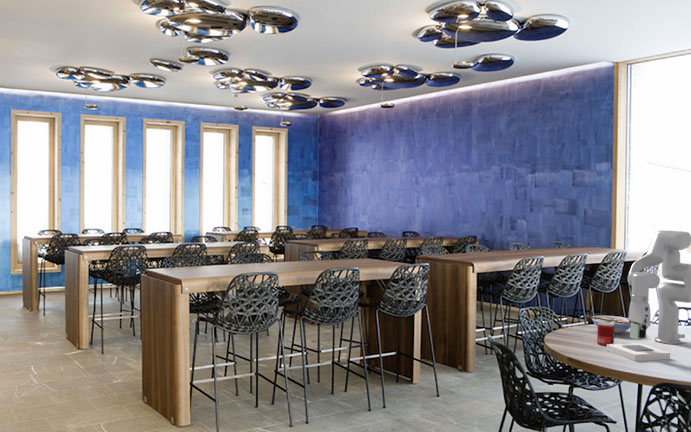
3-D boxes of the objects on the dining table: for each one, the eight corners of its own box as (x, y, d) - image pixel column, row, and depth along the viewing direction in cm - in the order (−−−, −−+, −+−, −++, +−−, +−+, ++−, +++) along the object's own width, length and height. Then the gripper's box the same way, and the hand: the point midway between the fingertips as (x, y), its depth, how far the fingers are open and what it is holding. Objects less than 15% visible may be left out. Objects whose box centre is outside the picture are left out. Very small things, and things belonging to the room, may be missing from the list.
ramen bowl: (642, 333, 356) (643, 319, 356) (625, 339, 341) (626, 324, 340) (599, 325, 374) (600, 312, 374) (581, 331, 359) (582, 316, 358)
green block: (638, 337, 310) (639, 322, 310) (645, 339, 305) (646, 324, 305) (629, 337, 309) (630, 323, 308) (637, 339, 304) (637, 325, 304)
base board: (639, 348, 320) (640, 342, 320) (669, 359, 300) (670, 351, 300) (606, 350, 314) (606, 343, 314) (634, 361, 295) (634, 353, 295)
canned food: (615, 346, 323) (616, 325, 322) (598, 345, 324) (599, 324, 324) (611, 343, 330) (612, 322, 330) (595, 342, 332) (596, 321, 331)
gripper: (659, 302, 299) (657, 340, 300) (633, 296, 316) (632, 332, 316) (646, 302, 297) (644, 340, 298) (621, 296, 314) (619, 333, 314)
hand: (638, 336), depth 307 cm, fingers closed on green block, 4 cm apart
